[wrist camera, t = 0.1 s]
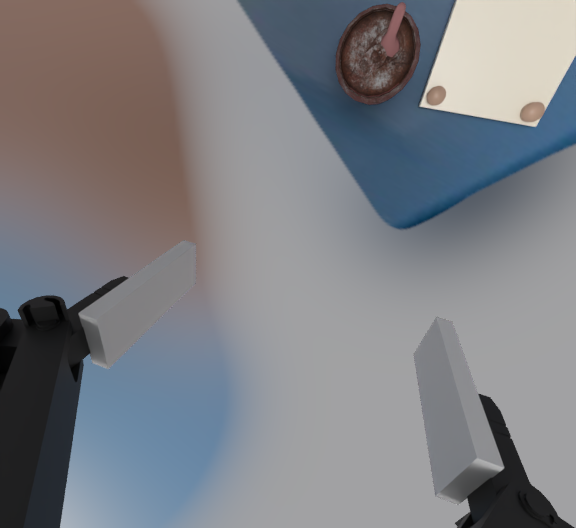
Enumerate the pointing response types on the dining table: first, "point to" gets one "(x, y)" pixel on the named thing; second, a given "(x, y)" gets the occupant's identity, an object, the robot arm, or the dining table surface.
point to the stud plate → (502, 58)
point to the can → (378, 53)
